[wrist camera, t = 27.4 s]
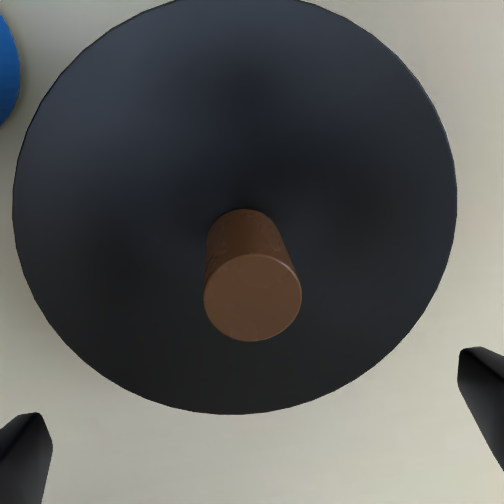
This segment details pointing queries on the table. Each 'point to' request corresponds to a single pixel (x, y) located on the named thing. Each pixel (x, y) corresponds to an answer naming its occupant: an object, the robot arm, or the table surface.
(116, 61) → the lid
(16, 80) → the beverage can
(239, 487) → the table surface
